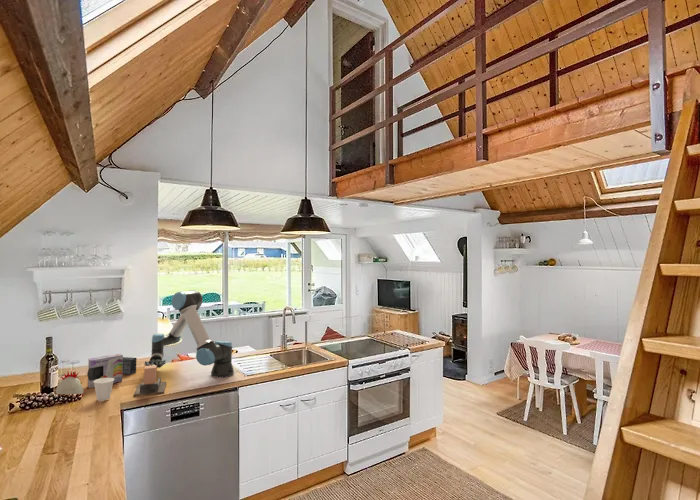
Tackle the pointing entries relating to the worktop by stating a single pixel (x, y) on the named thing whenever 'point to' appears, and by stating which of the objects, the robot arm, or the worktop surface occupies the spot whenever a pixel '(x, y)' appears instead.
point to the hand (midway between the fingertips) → (152, 369)
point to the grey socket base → (150, 388)
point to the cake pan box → (105, 368)
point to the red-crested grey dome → (70, 385)
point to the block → (150, 374)
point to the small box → (129, 366)
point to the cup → (103, 388)
